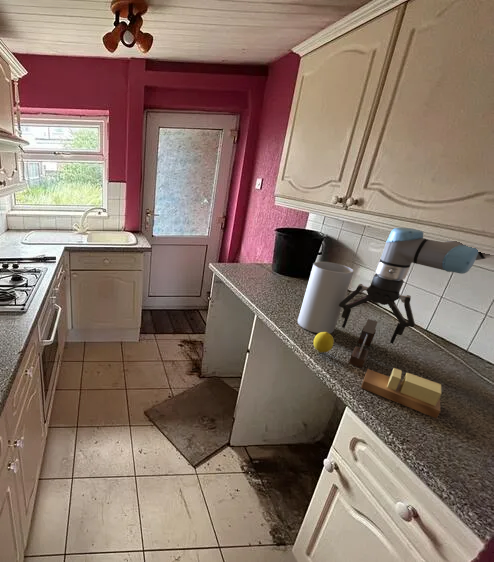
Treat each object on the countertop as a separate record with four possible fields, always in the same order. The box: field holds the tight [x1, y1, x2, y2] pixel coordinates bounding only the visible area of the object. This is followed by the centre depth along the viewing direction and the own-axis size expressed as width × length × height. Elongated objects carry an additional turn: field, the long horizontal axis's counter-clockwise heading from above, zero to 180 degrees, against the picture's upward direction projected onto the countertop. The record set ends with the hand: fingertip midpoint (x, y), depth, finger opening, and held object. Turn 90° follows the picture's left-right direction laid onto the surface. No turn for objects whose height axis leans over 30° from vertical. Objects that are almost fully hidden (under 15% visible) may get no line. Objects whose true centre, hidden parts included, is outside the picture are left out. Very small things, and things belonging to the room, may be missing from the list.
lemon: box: [312, 332, 335, 354], centre depth 105 cm, size 6×6×8 cm
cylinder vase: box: [297, 261, 355, 335], centre depth 118 cm, size 12×12×25 cm
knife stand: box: [348, 325, 377, 369], centre depth 105 cm, size 4×20×6 cm, turn 136°
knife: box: [358, 318, 379, 359], centre depth 104 cm, size 3×21×6 cm, turn 137°
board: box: [360, 368, 441, 419], centre depth 87 cm, size 16×8×2 cm, turn 46°
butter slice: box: [387, 367, 403, 390], centre depth 87 cm, size 2×5×4 cm, turn 136°
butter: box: [400, 372, 442, 406], centre depth 84 cm, size 7×5×4 cm
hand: (366, 333), depth 107 cm, fingers open, 13 cm apart
